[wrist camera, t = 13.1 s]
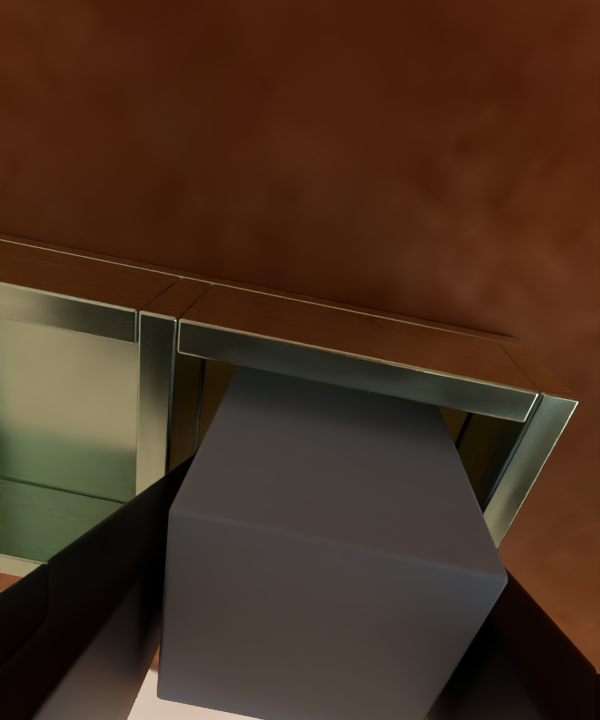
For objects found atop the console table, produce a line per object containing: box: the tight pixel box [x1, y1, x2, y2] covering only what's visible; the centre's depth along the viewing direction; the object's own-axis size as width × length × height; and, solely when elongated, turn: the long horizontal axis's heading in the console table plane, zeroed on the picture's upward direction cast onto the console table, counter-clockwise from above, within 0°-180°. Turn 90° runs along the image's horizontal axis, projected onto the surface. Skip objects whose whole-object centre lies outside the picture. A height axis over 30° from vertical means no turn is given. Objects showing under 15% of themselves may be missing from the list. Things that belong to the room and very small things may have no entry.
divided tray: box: [0, 234, 579, 577], centre depth 9 cm, size 13×7×2 cm, turn 80°
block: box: [157, 366, 508, 720], centre depth 7 cm, size 4×4×4 cm
